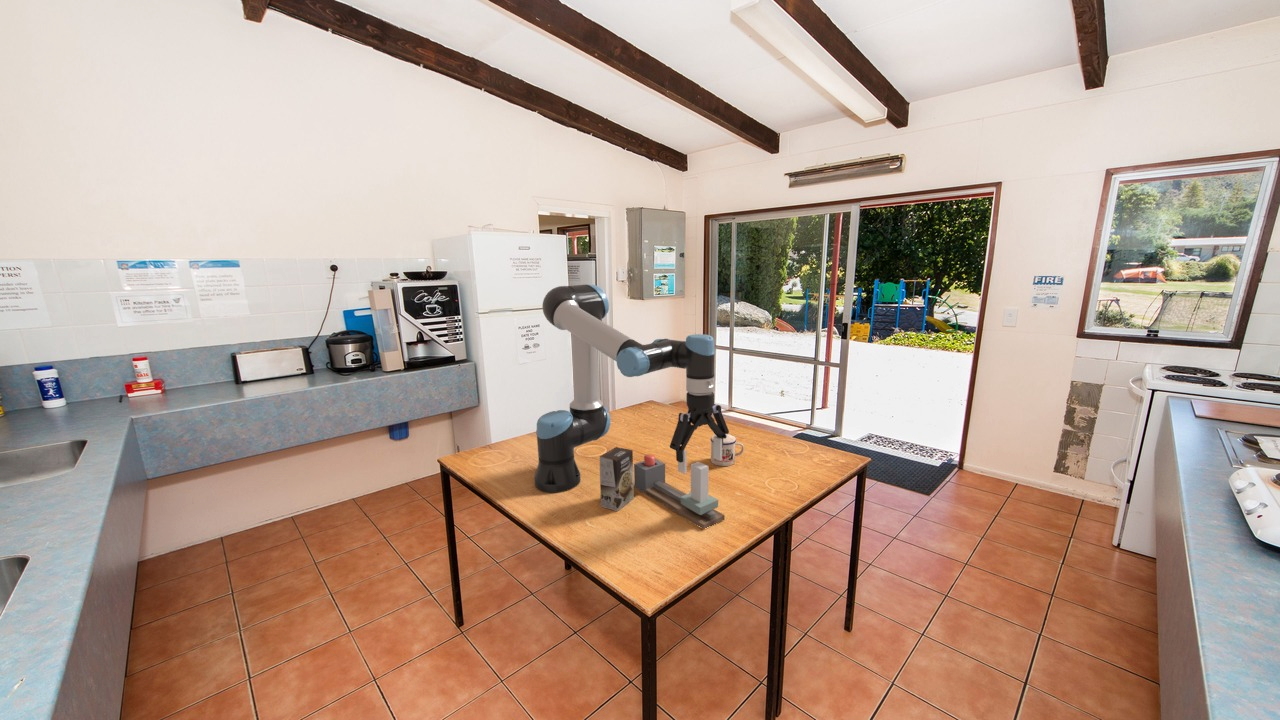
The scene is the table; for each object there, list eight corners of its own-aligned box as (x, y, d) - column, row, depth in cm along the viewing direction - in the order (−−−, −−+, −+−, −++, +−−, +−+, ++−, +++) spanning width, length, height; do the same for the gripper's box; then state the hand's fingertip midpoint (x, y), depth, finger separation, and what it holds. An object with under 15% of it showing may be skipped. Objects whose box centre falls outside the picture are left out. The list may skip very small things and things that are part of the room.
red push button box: (645, 493, 147) (645, 470, 145) (634, 487, 152) (634, 464, 150) (665, 486, 152) (665, 463, 150) (653, 480, 156) (653, 457, 155)
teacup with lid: (711, 466, 166) (711, 435, 164) (709, 456, 175) (709, 426, 173) (745, 467, 165) (746, 436, 163) (741, 456, 174) (742, 427, 172)
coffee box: (617, 512, 137) (616, 460, 133) (600, 506, 140) (598, 456, 137) (634, 498, 144) (633, 449, 141) (617, 493, 148) (616, 445, 144)
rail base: (703, 529, 127) (704, 519, 126) (645, 493, 147) (645, 485, 146) (724, 520, 131) (724, 510, 131) (665, 486, 152) (665, 477, 151)
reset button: (648, 474, 148) (648, 459, 147) (642, 470, 151) (642, 456, 150) (657, 471, 150) (656, 456, 149) (650, 467, 153) (650, 453, 152)
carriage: (700, 515, 128) (700, 473, 125) (680, 503, 134) (680, 464, 132) (718, 507, 132) (718, 466, 129) (698, 496, 138) (698, 457, 136)
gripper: (674, 403, 116) (675, 483, 120) (742, 386, 131) (741, 458, 135) (655, 397, 122) (657, 473, 126) (722, 382, 137) (721, 450, 141)
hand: (700, 465), depth 130 cm, fingers open, 13 cm apart
